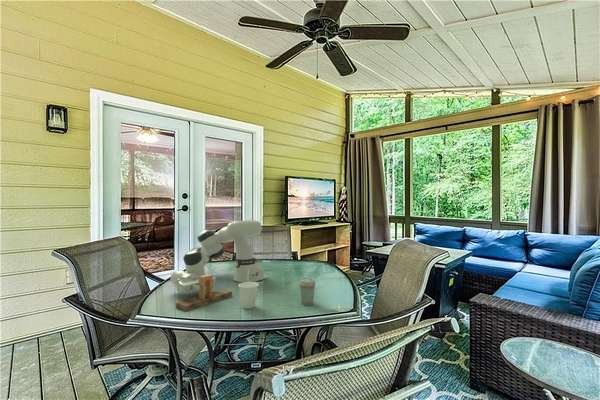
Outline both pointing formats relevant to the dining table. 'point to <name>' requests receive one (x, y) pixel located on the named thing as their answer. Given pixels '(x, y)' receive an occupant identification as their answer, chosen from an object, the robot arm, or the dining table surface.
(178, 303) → the rail
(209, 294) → the clip
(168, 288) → the dining table surface
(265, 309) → the dining table surface
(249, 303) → the cup
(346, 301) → the dining table surface
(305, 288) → the coffee cup
